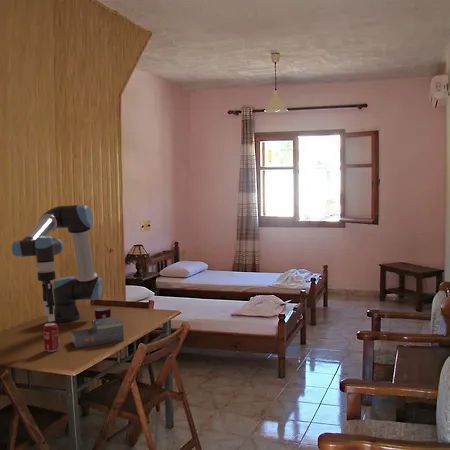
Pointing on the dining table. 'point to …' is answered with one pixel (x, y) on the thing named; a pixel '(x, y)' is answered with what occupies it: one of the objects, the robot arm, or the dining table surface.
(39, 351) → the dining table surface
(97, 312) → the mug
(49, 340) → the beverage can
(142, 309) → the dining table surface
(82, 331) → the stand
